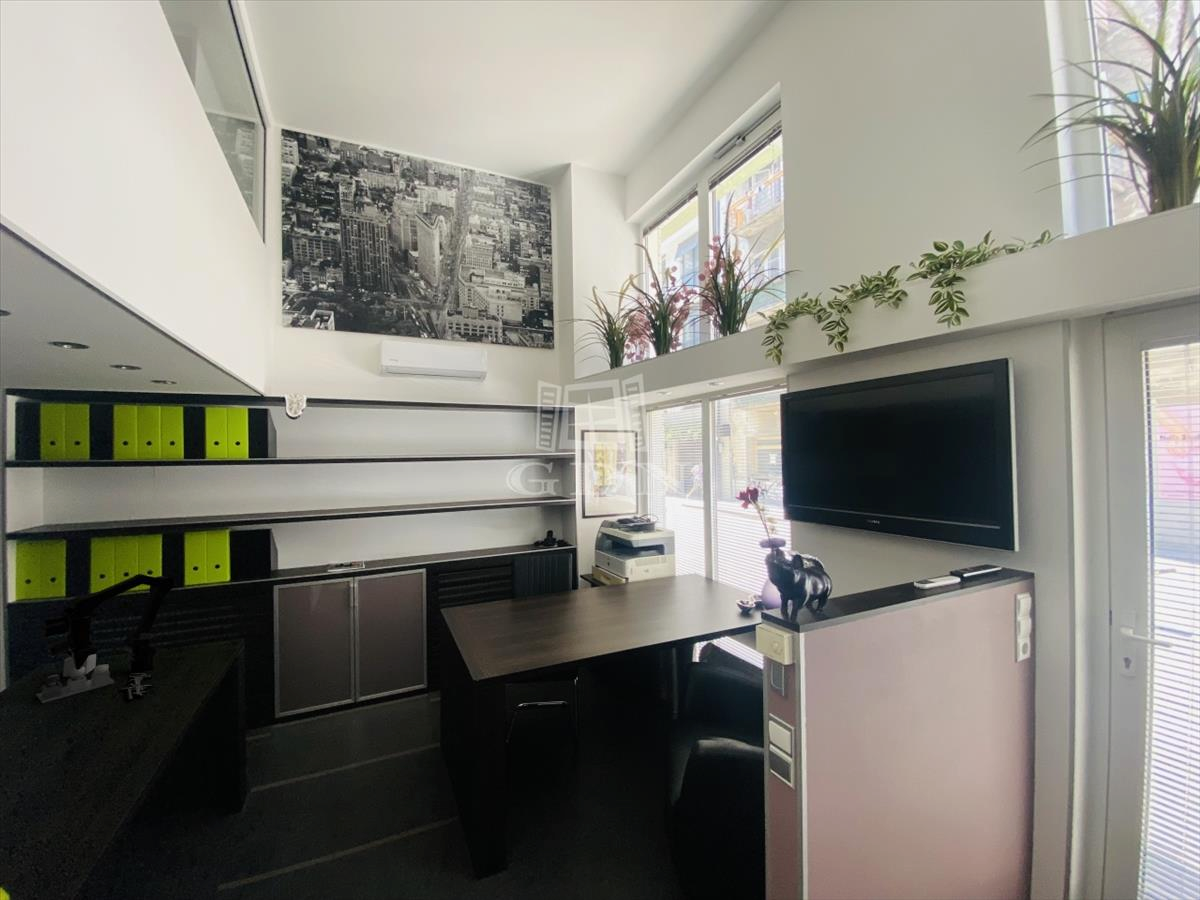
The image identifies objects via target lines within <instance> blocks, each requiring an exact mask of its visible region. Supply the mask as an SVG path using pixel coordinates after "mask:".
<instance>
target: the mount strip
mask: <svg viewBox="0 0 1200 900" xmlns="http://www.w3.org/2000/svg"><path fill="white" fill-rule="evenodd" d="M110 676H111V671H110V670H108V672H106V673H103V674H97V675H95V674H94V672H92V673H91V679H88V680H87V677H86V676H85V674H84V675H82V676H81V679H79V680H75V681H74V677H73V678H72V677H70V678H68V679H67V685H65V686H63V684H62V683H61V682H60V681H56V686H52V687H48V686H49V683H46V684H44V685H42V686H41V692H40V693H36V697H37V699H38V698H39V699H38V700H39V701H40V703H42V704H44V703H47V702H51V701H56V700H58V699H61V698H65V697H66V698H67V697H68V696H72V695H75V694H80V693H83V692H86V691H90V690H95V689H98V688H102V687H106V686H108V685H109V686H110V685H112V684H115V680H114V679H112V678H111V677H110Z"/></svg>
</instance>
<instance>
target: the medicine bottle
mask: <svg viewBox="0 0 1200 900" xmlns="http://www.w3.org/2000/svg"><path fill="white" fill-rule="evenodd" d="M90 645H93V643H92V644H90ZM87 646H89V645H87ZM96 661H97V654H93V655H89V656H88V658H87V659H86V661H85V662H84V664H83V666H82V667H85V674H84V675H87V674H88V673H90V672H91V671H93V670H94V667H96ZM72 669H75V665H74V661H73V658H72V657H70V656H68V657H67V658H65V659H64V660H63V670H62V672H63V673H62V677H63V678H65V677H66V678H67V677H70V670H72Z"/></svg>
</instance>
